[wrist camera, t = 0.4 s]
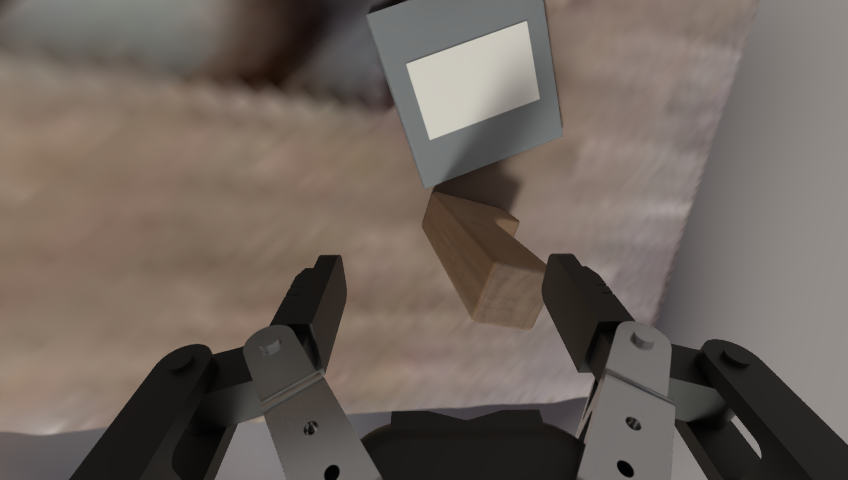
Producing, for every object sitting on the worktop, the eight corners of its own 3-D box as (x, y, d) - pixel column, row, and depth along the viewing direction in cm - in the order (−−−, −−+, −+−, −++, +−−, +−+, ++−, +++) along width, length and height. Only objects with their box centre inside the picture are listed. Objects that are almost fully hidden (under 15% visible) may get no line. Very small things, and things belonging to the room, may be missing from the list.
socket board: (366, 19, 28) (366, 14, 27) (530, -38, 29) (538, -45, 28) (423, 186, 34) (425, 189, 33) (556, 135, 35) (564, 136, 34)
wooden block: (503, 208, 37) (618, 286, 21) (490, 243, 39) (587, 341, 22) (432, 189, 35) (497, 260, 18) (420, 227, 36) (471, 324, 20)
